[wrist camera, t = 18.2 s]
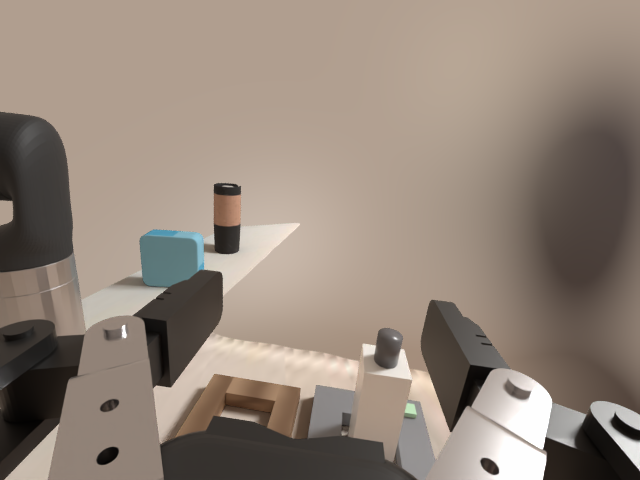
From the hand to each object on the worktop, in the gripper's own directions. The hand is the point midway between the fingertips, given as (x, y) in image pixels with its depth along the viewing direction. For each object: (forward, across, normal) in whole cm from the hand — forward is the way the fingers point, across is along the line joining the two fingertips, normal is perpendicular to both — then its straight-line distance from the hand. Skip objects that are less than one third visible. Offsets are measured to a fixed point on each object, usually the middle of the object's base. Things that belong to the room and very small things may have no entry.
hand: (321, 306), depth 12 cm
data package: (+50, +36, +28) cm, 67 cm away
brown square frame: (+16, +8, +27) cm, 33 cm away
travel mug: (+75, +33, +28) cm, 86 cm away
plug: (+16, -7, +27) cm, 32 cm away
